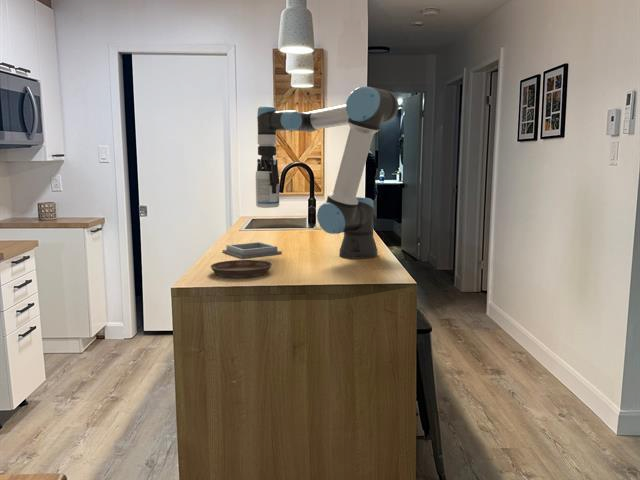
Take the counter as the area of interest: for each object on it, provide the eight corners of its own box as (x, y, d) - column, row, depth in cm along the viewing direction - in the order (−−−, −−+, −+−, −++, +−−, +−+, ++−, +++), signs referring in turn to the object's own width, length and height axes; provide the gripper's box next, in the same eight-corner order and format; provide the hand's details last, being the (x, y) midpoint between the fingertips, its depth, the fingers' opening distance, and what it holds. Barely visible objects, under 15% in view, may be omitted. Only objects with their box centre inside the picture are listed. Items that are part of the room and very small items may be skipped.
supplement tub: (283, 207, 230) (283, 171, 228) (262, 208, 226) (261, 171, 223) (272, 205, 239) (272, 170, 236) (252, 206, 234) (251, 170, 231)
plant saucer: (214, 268, 201) (214, 259, 200) (272, 267, 202) (272, 258, 202) (207, 281, 180) (206, 270, 180) (271, 279, 182) (271, 269, 181)
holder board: (281, 253, 228) (281, 246, 228) (241, 258, 218) (241, 250, 218) (261, 248, 243) (260, 241, 243) (222, 252, 233) (222, 245, 233)
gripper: (288, 145, 221) (288, 202, 224) (263, 145, 239) (263, 198, 243) (271, 145, 217) (271, 203, 220) (247, 145, 236) (247, 198, 239)
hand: (267, 200), depth 232 cm, fingers closed on supplement tub, 10 cm apart
